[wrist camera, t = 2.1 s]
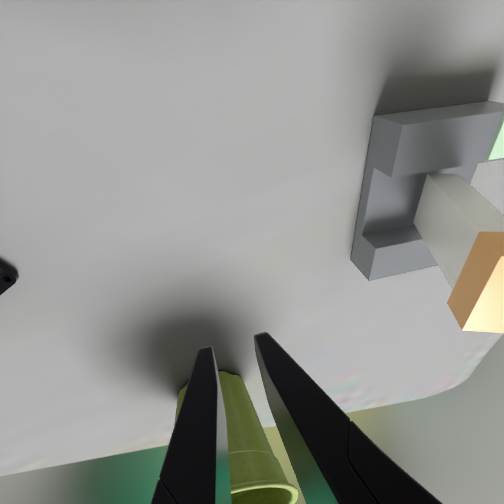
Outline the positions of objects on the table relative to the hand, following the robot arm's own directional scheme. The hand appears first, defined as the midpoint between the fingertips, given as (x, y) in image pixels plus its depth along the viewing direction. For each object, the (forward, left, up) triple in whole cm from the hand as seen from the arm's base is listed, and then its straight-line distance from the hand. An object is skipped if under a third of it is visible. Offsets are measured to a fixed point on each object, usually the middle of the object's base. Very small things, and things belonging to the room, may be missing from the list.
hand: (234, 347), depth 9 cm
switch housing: (+13, -11, -13) cm, 21 cm away
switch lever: (+13, -11, -10) cm, 20 cm away
